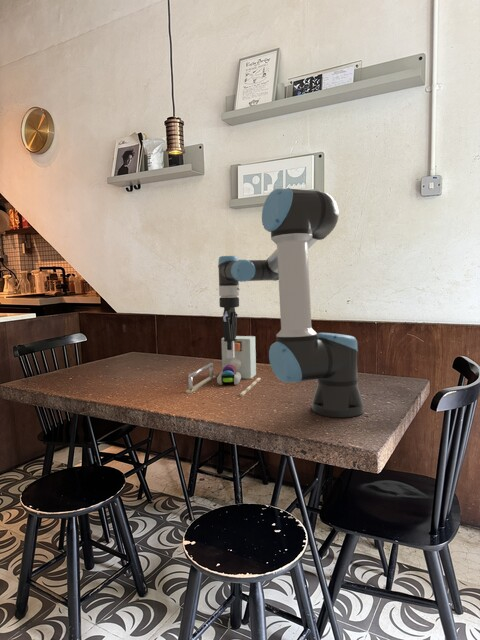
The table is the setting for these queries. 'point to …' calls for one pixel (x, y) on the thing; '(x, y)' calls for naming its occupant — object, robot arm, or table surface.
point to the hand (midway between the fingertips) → (230, 357)
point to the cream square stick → (250, 387)
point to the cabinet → (242, 357)
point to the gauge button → (237, 346)
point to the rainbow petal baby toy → (229, 375)
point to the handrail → (193, 388)
